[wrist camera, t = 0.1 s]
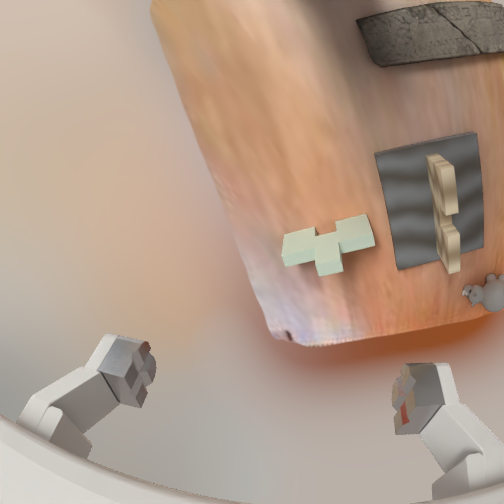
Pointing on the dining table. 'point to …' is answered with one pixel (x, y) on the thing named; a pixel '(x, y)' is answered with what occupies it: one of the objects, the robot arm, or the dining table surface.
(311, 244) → the sage slotted plate
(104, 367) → the robot arm
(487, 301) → the chubby cartoon animal
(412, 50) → the stone slab
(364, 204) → the dining table surface
